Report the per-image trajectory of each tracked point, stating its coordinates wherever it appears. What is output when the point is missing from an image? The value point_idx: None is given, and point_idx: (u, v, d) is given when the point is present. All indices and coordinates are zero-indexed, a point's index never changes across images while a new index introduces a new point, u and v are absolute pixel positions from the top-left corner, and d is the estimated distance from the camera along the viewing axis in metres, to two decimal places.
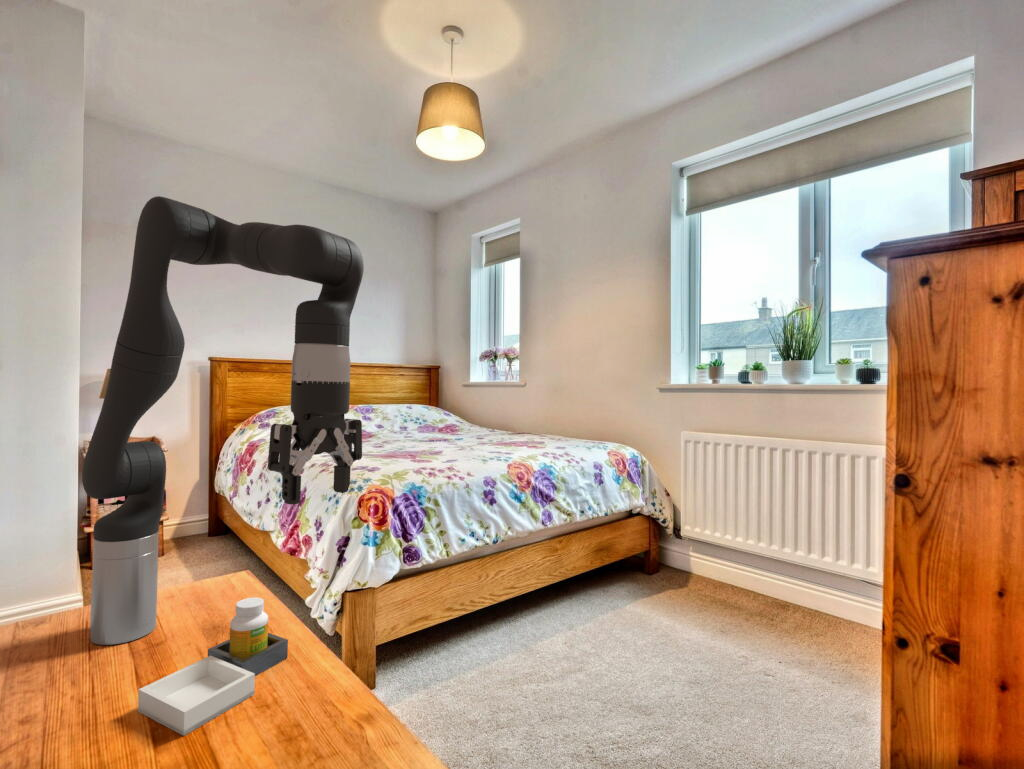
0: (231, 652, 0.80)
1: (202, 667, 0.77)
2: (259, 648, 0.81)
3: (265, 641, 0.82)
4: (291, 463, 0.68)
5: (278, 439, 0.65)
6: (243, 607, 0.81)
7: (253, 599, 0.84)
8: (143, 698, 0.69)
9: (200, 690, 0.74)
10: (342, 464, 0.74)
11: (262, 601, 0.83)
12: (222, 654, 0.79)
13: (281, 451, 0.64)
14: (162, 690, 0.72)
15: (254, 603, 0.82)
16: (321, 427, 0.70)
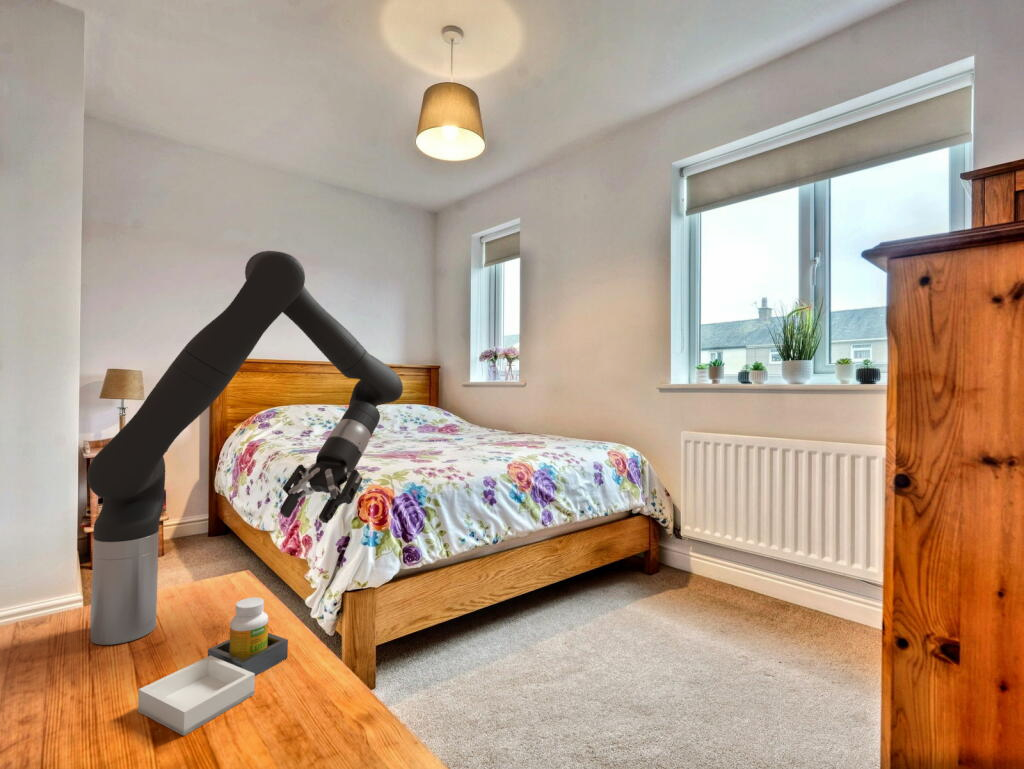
0: (231, 652, 0.80)
1: (202, 667, 0.77)
2: (259, 648, 0.81)
3: (265, 641, 0.82)
4: None
5: (357, 482, 0.97)
6: (243, 607, 0.81)
7: (253, 599, 0.84)
8: (143, 698, 0.69)
9: (200, 690, 0.74)
10: (297, 497, 0.98)
11: (262, 601, 0.83)
12: (222, 654, 0.79)
13: (356, 491, 0.96)
14: (162, 690, 0.72)
15: (254, 603, 0.82)
16: None
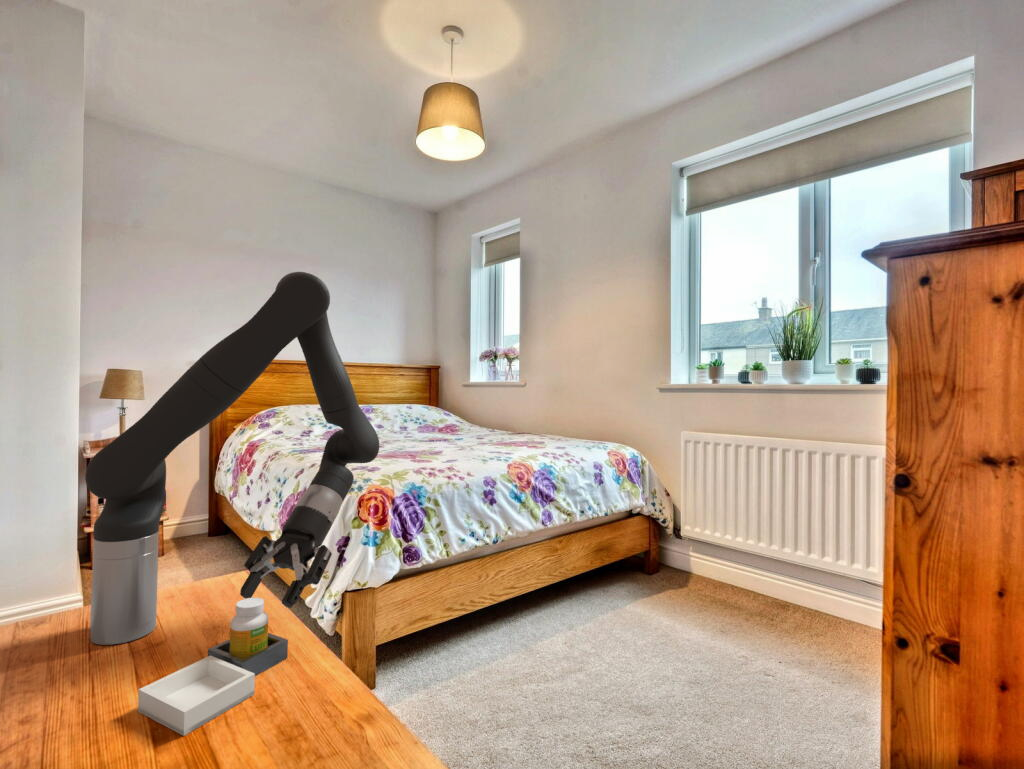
0: (231, 652, 0.80)
1: (202, 667, 0.77)
2: (259, 648, 0.81)
3: (265, 641, 0.82)
4: None
5: (325, 559, 0.89)
6: (243, 607, 0.81)
7: (253, 599, 0.84)
8: (143, 698, 0.69)
9: (200, 690, 0.74)
10: (260, 575, 0.90)
11: (262, 601, 0.83)
12: (222, 654, 0.79)
13: (324, 569, 0.89)
14: (162, 690, 0.72)
15: (254, 603, 0.82)
16: None
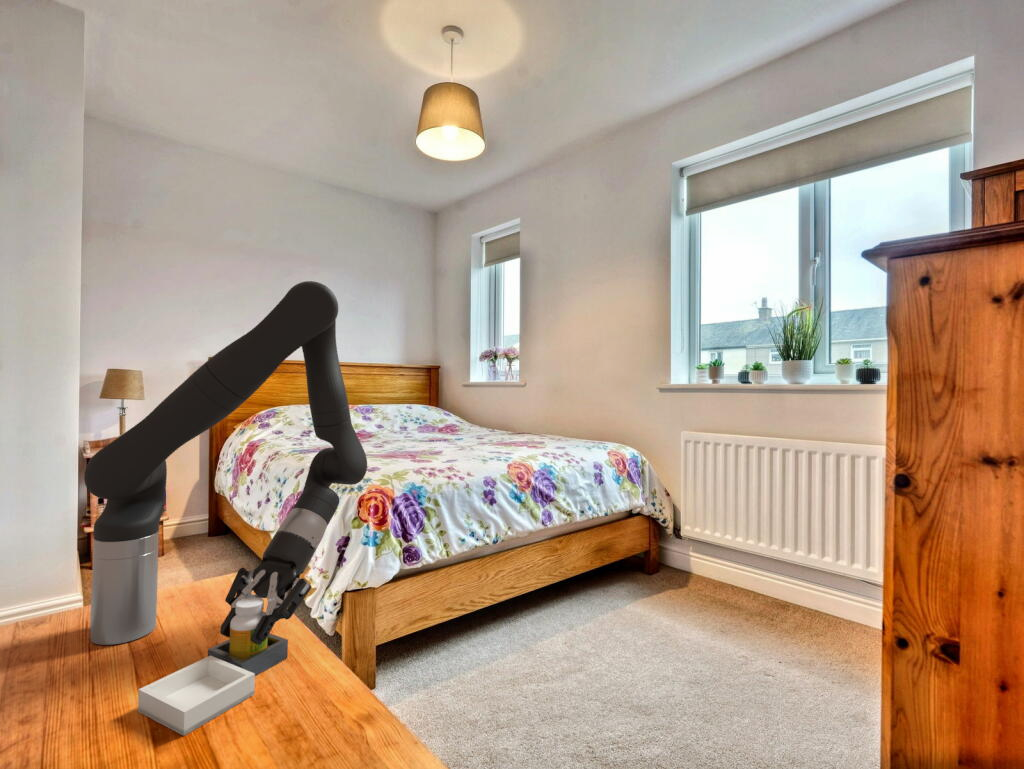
0: (231, 652, 0.80)
1: (202, 667, 0.77)
2: (258, 648, 0.81)
3: (265, 641, 0.82)
4: None
5: (302, 594, 0.84)
6: (243, 607, 0.81)
7: (253, 599, 0.84)
8: (143, 698, 0.69)
9: (200, 690, 0.74)
10: None
11: (262, 601, 0.83)
12: (222, 654, 0.79)
13: (299, 604, 0.84)
14: (162, 690, 0.72)
15: (253, 603, 0.82)
16: None
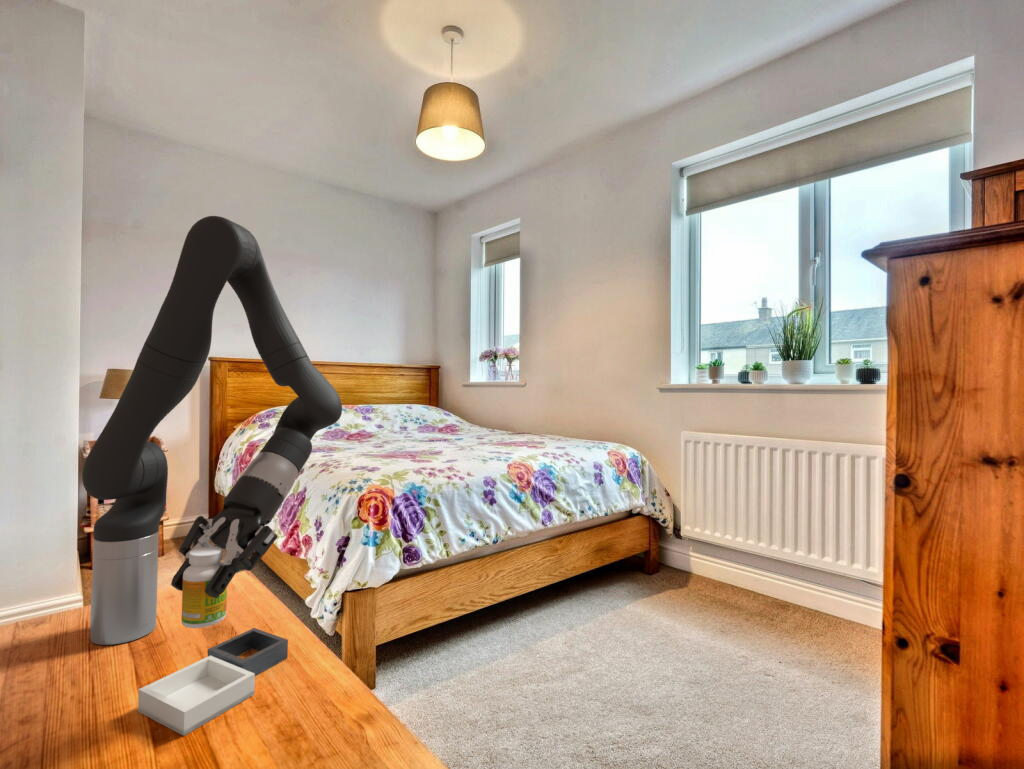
0: (183, 606, 0.71)
1: (202, 667, 0.77)
2: (215, 602, 0.71)
3: (223, 595, 0.73)
4: None
5: (266, 543, 0.75)
6: (198, 555, 0.71)
7: (210, 548, 0.74)
8: (143, 698, 0.69)
9: (200, 690, 0.74)
10: None
11: (220, 550, 0.73)
12: (222, 654, 0.79)
13: (262, 555, 0.74)
14: (162, 690, 0.72)
15: (210, 552, 0.72)
16: None
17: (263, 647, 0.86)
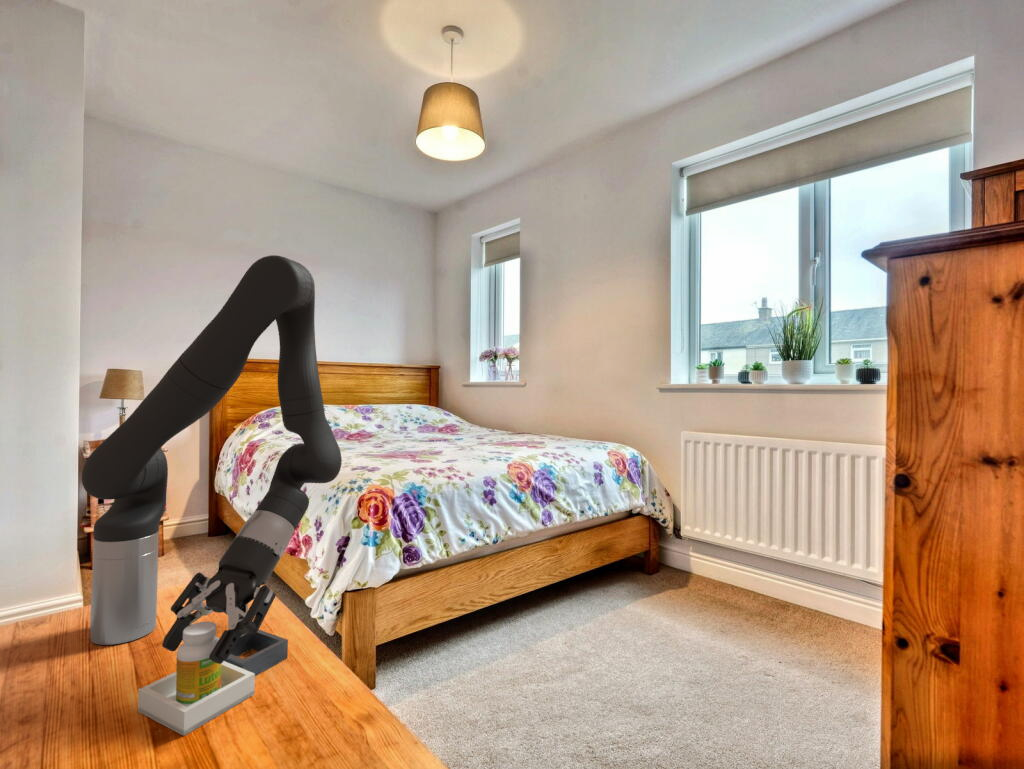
0: (177, 686, 0.70)
1: None
2: (210, 680, 0.71)
3: (218, 672, 0.72)
4: None
5: (266, 602, 0.75)
6: (191, 634, 0.70)
7: (204, 624, 0.73)
8: (143, 698, 0.69)
9: None
10: (189, 621, 0.75)
11: (214, 626, 0.73)
12: None
13: (265, 615, 0.74)
14: (162, 690, 0.72)
15: (204, 629, 0.72)
16: None
17: (263, 647, 0.86)
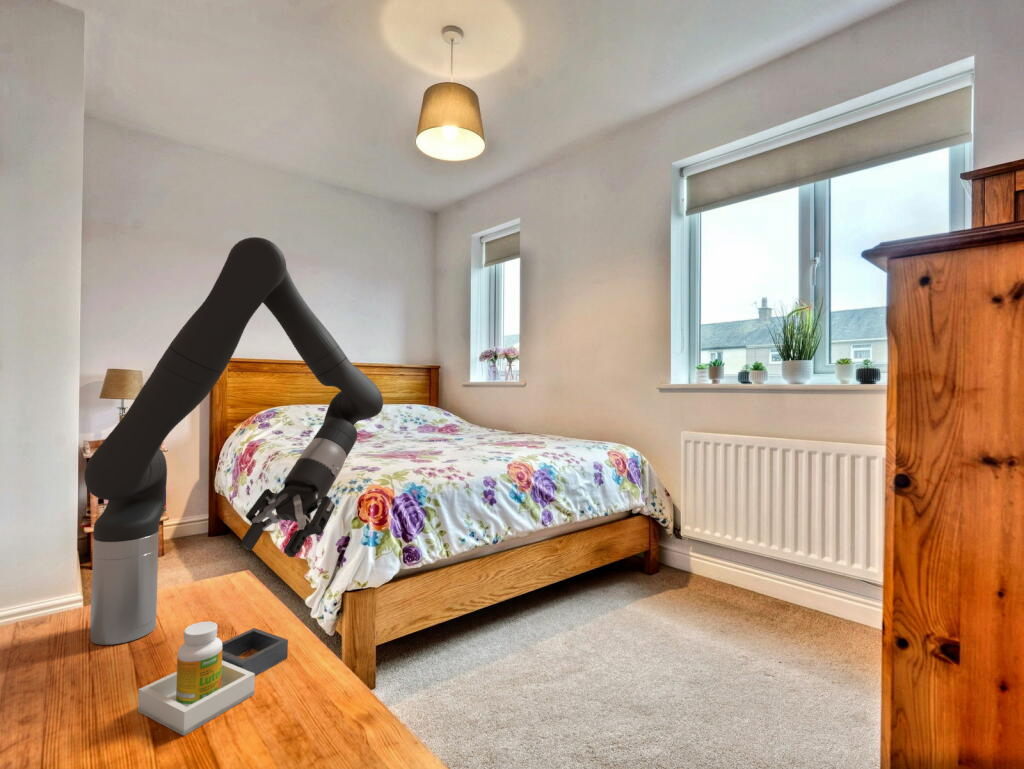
0: (178, 685, 0.70)
1: None
2: (210, 680, 0.71)
3: (218, 672, 0.72)
4: None
5: (328, 510, 0.87)
6: (192, 634, 0.70)
7: (205, 624, 0.73)
8: (143, 698, 0.69)
9: None
10: (261, 526, 0.88)
11: (215, 626, 0.73)
12: (222, 654, 0.79)
13: (327, 521, 0.87)
14: (162, 690, 0.72)
15: (205, 629, 0.72)
16: None
17: (263, 647, 0.86)
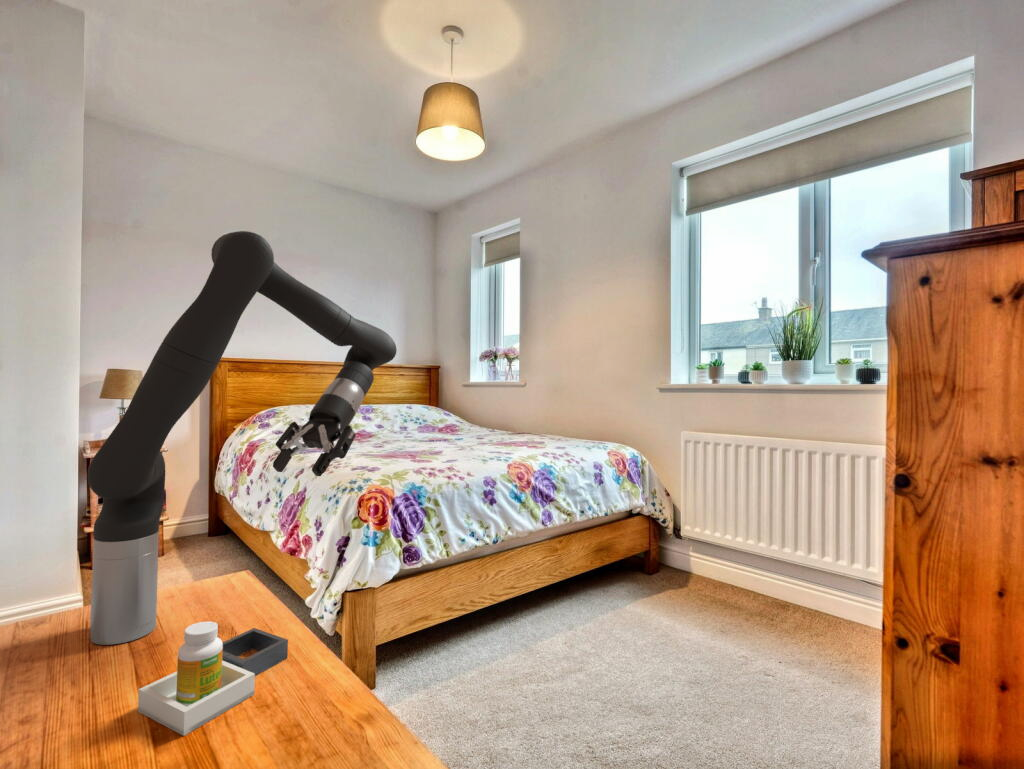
0: (178, 685, 0.70)
1: None
2: (210, 680, 0.71)
3: (218, 672, 0.72)
4: None
5: (350, 438, 0.97)
6: (193, 634, 0.71)
7: (205, 624, 0.74)
8: (143, 698, 0.69)
9: None
10: (290, 453, 0.97)
11: (216, 626, 0.73)
12: (222, 654, 0.79)
13: (349, 447, 0.96)
14: (162, 690, 0.72)
15: (205, 629, 0.72)
16: None
17: (263, 647, 0.86)
